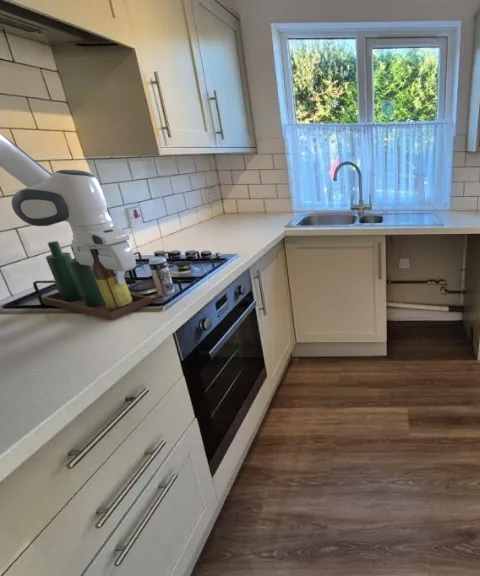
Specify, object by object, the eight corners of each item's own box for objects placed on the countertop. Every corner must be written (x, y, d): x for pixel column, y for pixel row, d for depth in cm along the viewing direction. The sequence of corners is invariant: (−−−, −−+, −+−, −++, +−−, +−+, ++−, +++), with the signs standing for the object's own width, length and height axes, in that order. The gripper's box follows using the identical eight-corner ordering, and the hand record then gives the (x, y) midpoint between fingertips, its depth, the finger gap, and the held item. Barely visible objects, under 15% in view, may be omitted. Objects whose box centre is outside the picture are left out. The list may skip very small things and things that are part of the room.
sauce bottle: (136, 302, 108) (116, 238, 100) (131, 311, 103) (109, 243, 95) (110, 306, 106) (87, 240, 98) (104, 315, 101) (79, 246, 93)
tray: (44, 305, 110) (41, 297, 109) (86, 290, 119) (83, 283, 118) (112, 322, 98) (109, 313, 97) (152, 304, 108) (149, 296, 107)
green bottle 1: (59, 300, 111) (35, 243, 104) (79, 293, 116) (58, 239, 109) (70, 303, 109) (47, 245, 102) (90, 295, 114) (69, 240, 107)
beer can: (168, 297, 113) (157, 261, 108) (154, 296, 113) (143, 260, 109) (178, 291, 117) (169, 256, 112) (165, 290, 118) (155, 255, 113)
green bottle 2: (81, 305, 107) (58, 247, 100) (101, 298, 112) (80, 242, 105) (93, 308, 105) (70, 249, 98) (112, 300, 110) (92, 243, 103)
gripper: (58, 233, 97) (76, 281, 102) (108, 239, 90) (124, 290, 95) (84, 228, 102) (100, 273, 108) (132, 233, 95) (147, 282, 100)
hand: (112, 281), depth 101 cm, fingers closed on sauce bottle, 6 cm apart
